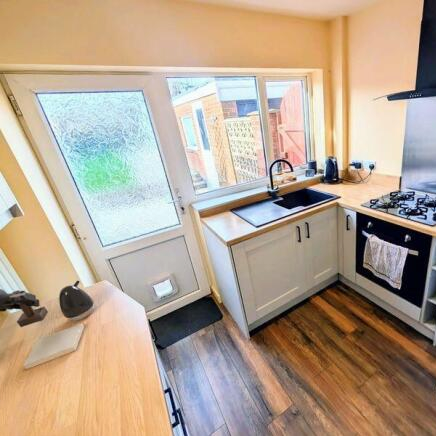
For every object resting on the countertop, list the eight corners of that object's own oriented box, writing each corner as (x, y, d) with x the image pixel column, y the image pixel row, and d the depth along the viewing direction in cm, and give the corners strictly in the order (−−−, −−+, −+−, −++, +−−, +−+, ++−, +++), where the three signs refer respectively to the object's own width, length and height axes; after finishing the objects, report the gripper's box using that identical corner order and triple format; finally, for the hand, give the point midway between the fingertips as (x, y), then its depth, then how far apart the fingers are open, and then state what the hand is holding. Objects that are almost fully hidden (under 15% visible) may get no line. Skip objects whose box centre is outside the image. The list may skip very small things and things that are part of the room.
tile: (26, 369, 84) (22, 365, 83) (40, 342, 94) (37, 339, 93) (75, 350, 89) (73, 346, 88) (84, 326, 99) (82, 323, 98)
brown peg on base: (20, 327, 96) (-1, 300, 90) (26, 318, 100) (6, 292, 94) (43, 319, 98) (23, 293, 92) (48, 311, 102) (29, 285, 96)
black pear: (103, 305, 109) (88, 278, 103) (83, 324, 100) (65, 296, 93) (83, 305, 111) (67, 278, 104) (62, 324, 101) (42, 296, 95)
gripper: (-51, 320, 76) (8, 322, 96) (15, 300, 81) (57, 306, 102) (-51, 296, 78) (7, 303, 99) (13, 279, 83) (55, 288, 104)
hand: (33, 304), depth 100 cm, fingers closed on brown peg on base, 3 cm apart
